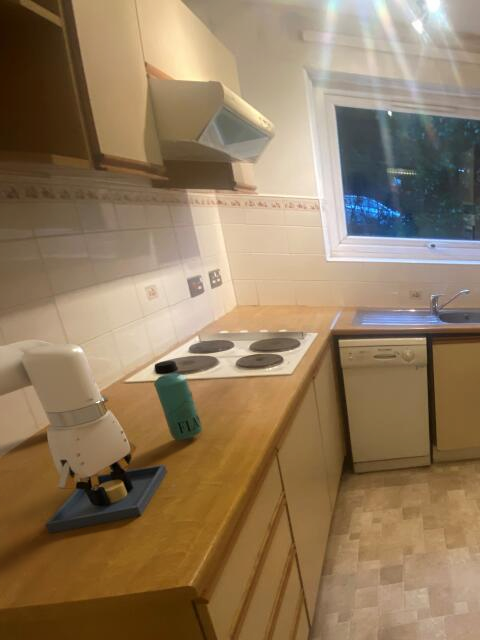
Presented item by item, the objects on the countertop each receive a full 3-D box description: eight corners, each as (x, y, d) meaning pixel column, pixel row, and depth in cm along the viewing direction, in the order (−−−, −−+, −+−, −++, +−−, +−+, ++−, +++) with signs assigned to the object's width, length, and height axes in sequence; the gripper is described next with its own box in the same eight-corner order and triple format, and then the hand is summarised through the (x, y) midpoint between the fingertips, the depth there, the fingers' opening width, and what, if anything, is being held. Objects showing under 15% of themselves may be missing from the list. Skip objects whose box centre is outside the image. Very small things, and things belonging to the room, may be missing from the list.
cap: (94, 503, 83) (89, 491, 82) (114, 490, 87) (109, 478, 86) (114, 504, 83) (109, 492, 82) (133, 492, 86) (128, 480, 85)
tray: (49, 533, 76) (44, 524, 75) (90, 485, 89) (86, 477, 88) (141, 515, 81) (137, 506, 80) (167, 472, 94) (164, 464, 93)
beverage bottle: (181, 447, 103) (155, 369, 95) (167, 440, 106) (140, 364, 98) (210, 436, 108) (187, 360, 101) (196, 429, 111) (173, 356, 104)
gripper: (104, 393, 86) (134, 471, 93) (4, 434, 70) (50, 524, 77) (138, 395, 85) (167, 473, 92) (46, 437, 70) (88, 527, 77)
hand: (113, 495), depth 85 cm, fingers closed on cap, 4 cm apart
